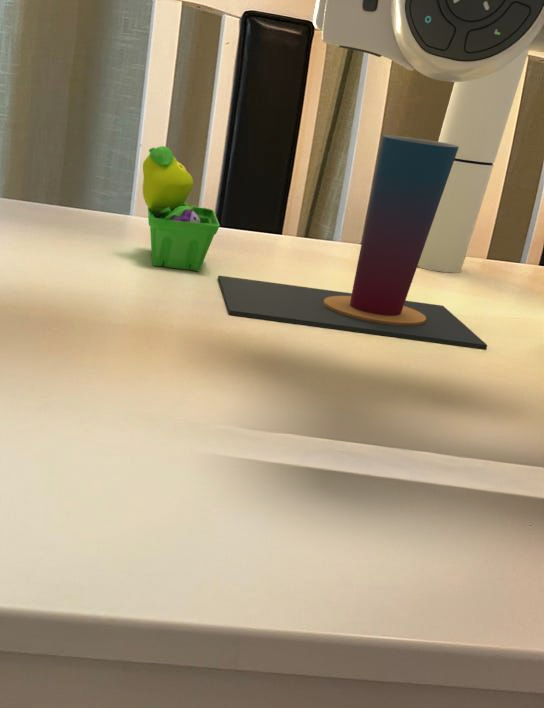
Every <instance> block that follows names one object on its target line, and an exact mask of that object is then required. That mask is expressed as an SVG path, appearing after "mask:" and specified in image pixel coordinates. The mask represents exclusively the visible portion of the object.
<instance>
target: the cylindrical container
mask: <svg viewBox="0 0 544 708" xmlns="http://www.w3.org/2000/svg"><path fill="white" fill-rule="evenodd" d="M529 52H530V51H529V50H524V51H523V52H522V53H521V54H520V55H519V56H518V57H517V58H515V59H514V60H513V61H512V62H510V63H509V64H508V65H506V66H505V67H503V68H502V69H500V70H498V71H496V72H494V73H492V74H490V75H488V76H485V77H483V78H479V79H476V80H472V81H466V82H453V85H452V86H453V87H452V90H451V94H450V98H449V101H448V105H447V109H446V112H445V116H444V119H443V122H442V126H441V130H440V133H439V137H438V141H437V142H442V143H447V144H452V145H456V146H458V147H459V148H458V151H457V154H456V157H455V159H454V162H453V165H452V168H451V171H450V174H449V177H448V180H447V182H446V185H445V188H444V191H443V194H442V197H441V200H440V203H439V205H438V208H437V211H436V214H435V217H434V220H433V223H432V225H431V228H430V231H429V234H428V237H427V240H426V243H425V246H424V248H423V251H422V254H421V257H420V260H419V263H418V266H417V268H421V269H425V270H429V271H435V272H442V273H443V272H444V273H461V271H462V269H463V265H464V262H465V259H466V256H467V252H468V249H469V247H470V243H471V239H472V236H473V234H474V231H475V227H476V223H477V220H478V217H479V214H480V211H481V207H482V204H483V201H484V197H485V194H486V191H487V188H488V184H489V181H490V178H491V174H492V172H493V168H494V163H495V162H496V158H497V155H498V152H499V148H500V146H501V142H502V139H503V136H504V133H505V129H506V126H507V122H508V120H509V116H510V113H511V110H512V107H513V103H514V100H515V97H516V93H517V90H518V87H519V84H520V81H521V77H522V74H523V70H524V68H525V64H526V61H527V58H528V55H529Z"/></svg>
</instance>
